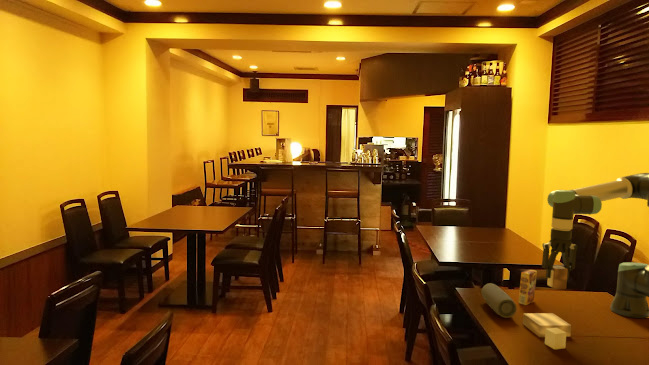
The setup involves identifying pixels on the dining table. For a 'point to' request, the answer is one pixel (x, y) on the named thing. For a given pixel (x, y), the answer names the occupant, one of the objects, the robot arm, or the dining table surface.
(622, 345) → the dining table surface
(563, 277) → the walnut block
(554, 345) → the stoneware cube
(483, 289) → the bluetooth speaker
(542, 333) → the beech block
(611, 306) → the robot arm
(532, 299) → the candy box
